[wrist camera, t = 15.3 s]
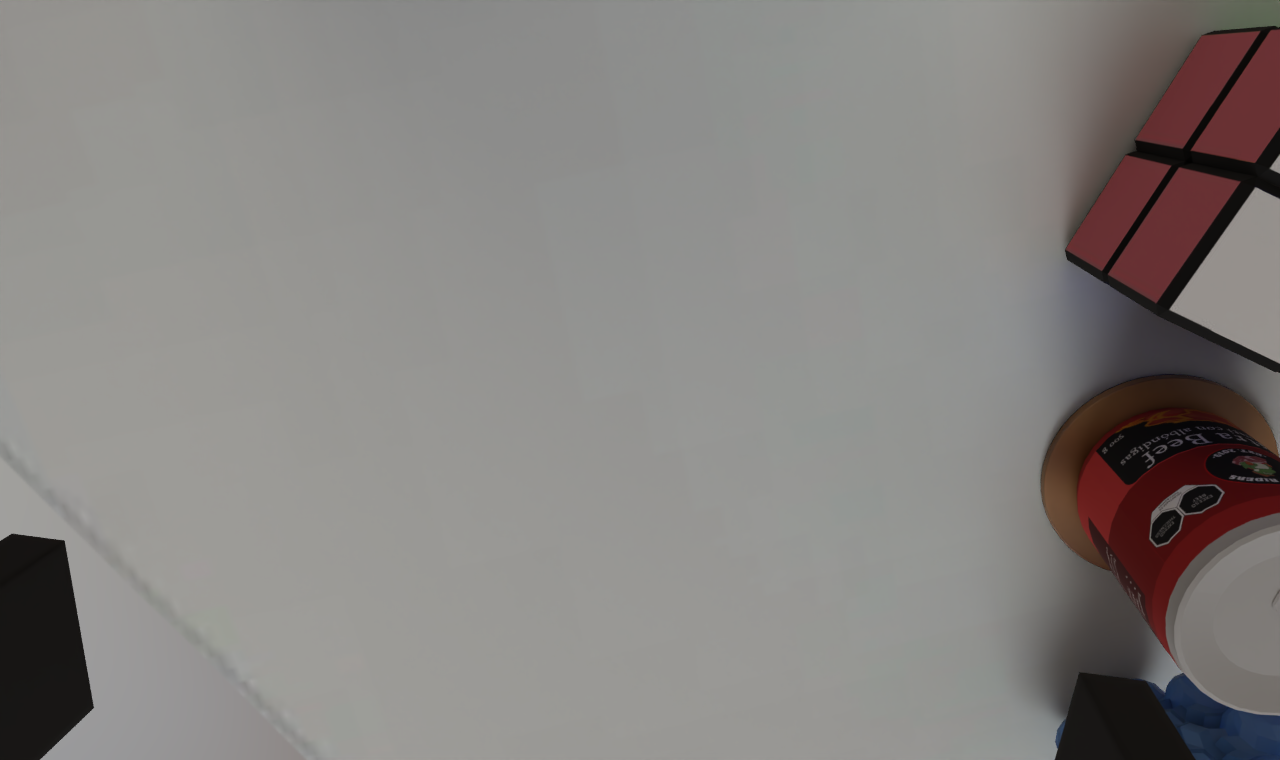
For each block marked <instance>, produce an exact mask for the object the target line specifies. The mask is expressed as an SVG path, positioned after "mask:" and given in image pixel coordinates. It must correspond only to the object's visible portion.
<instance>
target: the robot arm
mask: <svg viewBox="0 0 1280 760" xmlns="http://www.w3.org/2000/svg"><path fill="white" fill-rule="evenodd" d="M93 708H94V706H93V700H92V695H91V690H90V684H89V678H88V672H87V666H86V660H85V655H84V649H83V643H82V638H81V632H80V626H79V620H78V615H77V609H76V603H75V598H74V592H73V586H72V580H71V575H70V569H69V563H68V558H67V552H66V547H65V541H64V540H56V539H48V538H41V537H33V536H25V535H18V534H11V535H9V536H8V537H6V538H4V539H3V540H1V541H0V760H40V759H41V758H42V757H43V756H44V755H45V754H46V753H47V752H48V751H49V750H50V749H52V747H54V746H55V745H56V744H57V743H58V742H59V741H60V740H61V739H62V738H63V737H64V736H65V735H66V734H67V733H68V732H69V731H70V730H71V729H72V728H73V727H74V726H76V725H77V723H79V722H80V721H81V720H82V719H83V718H84V717H85V716H86V715H87V714H88V713H89V712H90V711H91V710H92V709H93ZM1055 760H1196V759H1195V758H1194V756H1193V755H1192V753H1191V751H1190V750H1189V748H1188V747H1187V745H1186V743H1185V742H1184V740H1183V739H1182V737H1181V736H1180V734H1179V732H1178V731H1177V729H1176V728H1175V726H1174V724H1173V723H1172V721H1171V720H1170V718H1169V717H1168V715H1167V713H1166V712H1165V710H1164V709H1163V707H1162V705H1161V704H1160V702H1159V701H1158V699H1157V698H1156V696H1155V694H1154V693H1153V691H1152V690H1151V688H1150V686H1149V685H1148V683H1147V682H1146V681H1142V680H1134V679H1127V678H1119V677H1111V676H1104V675H1096V674H1088V673H1080V672H1079V675H1078V679H1077V682H1076V686H1075V690H1074V693H1073V697H1072V700H1071V704H1070V707H1069V711H1068V715H1067V718H1066V722H1065V725H1064V729H1063V733H1062V736H1061V740H1060V743H1059V747H1058V751H1057V754H1056V758H1055Z"/></svg>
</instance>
